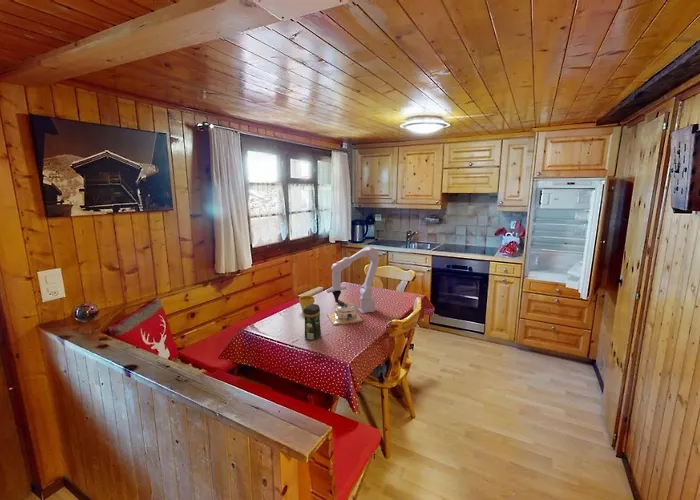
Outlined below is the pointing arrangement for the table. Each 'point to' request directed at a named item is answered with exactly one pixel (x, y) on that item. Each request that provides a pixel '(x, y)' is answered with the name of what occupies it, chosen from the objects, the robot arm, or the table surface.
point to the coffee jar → (312, 322)
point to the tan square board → (344, 317)
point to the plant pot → (306, 301)
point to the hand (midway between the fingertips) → (336, 301)
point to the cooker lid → (345, 306)
